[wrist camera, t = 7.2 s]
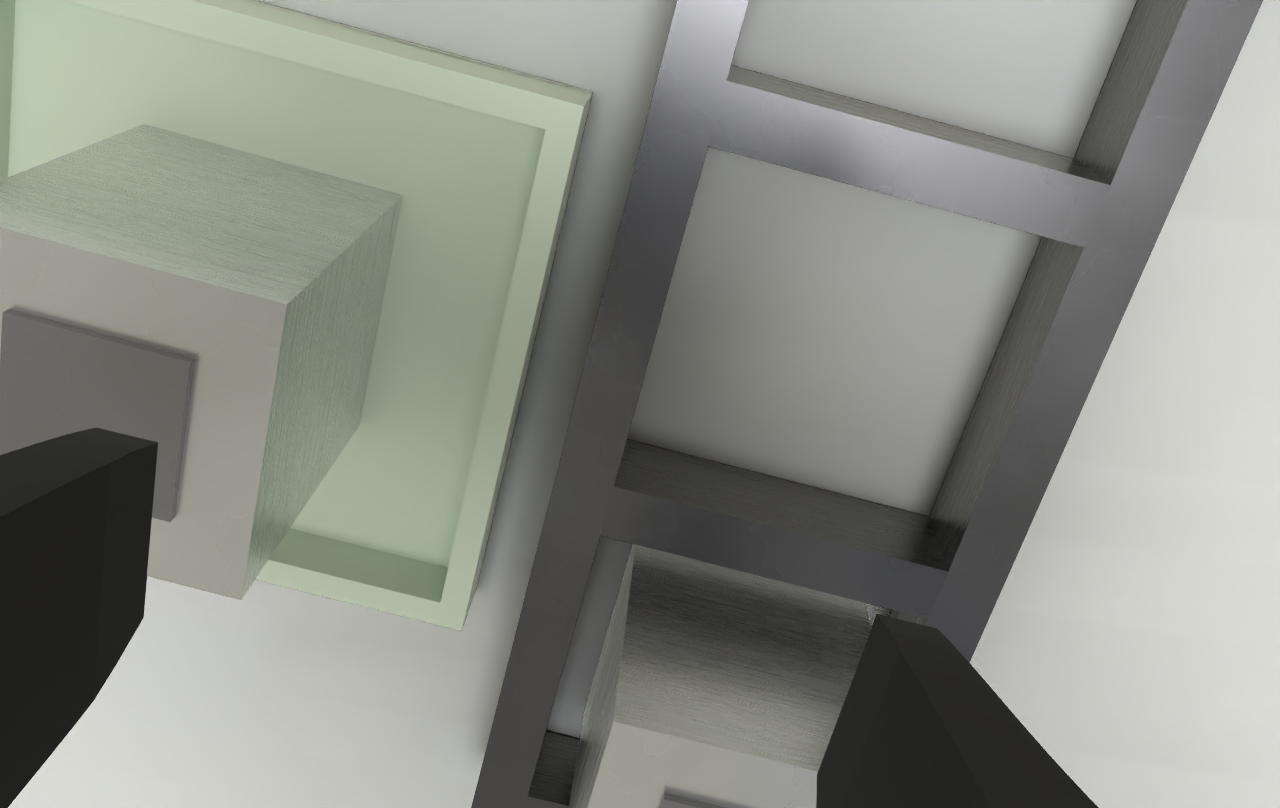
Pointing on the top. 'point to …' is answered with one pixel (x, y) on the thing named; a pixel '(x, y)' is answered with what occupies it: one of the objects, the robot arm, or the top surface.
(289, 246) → the grey box
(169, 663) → the top surface
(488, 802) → the rack frame
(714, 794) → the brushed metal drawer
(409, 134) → the parts tray
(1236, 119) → the top surface
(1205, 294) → the top surface
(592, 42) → the top surface
